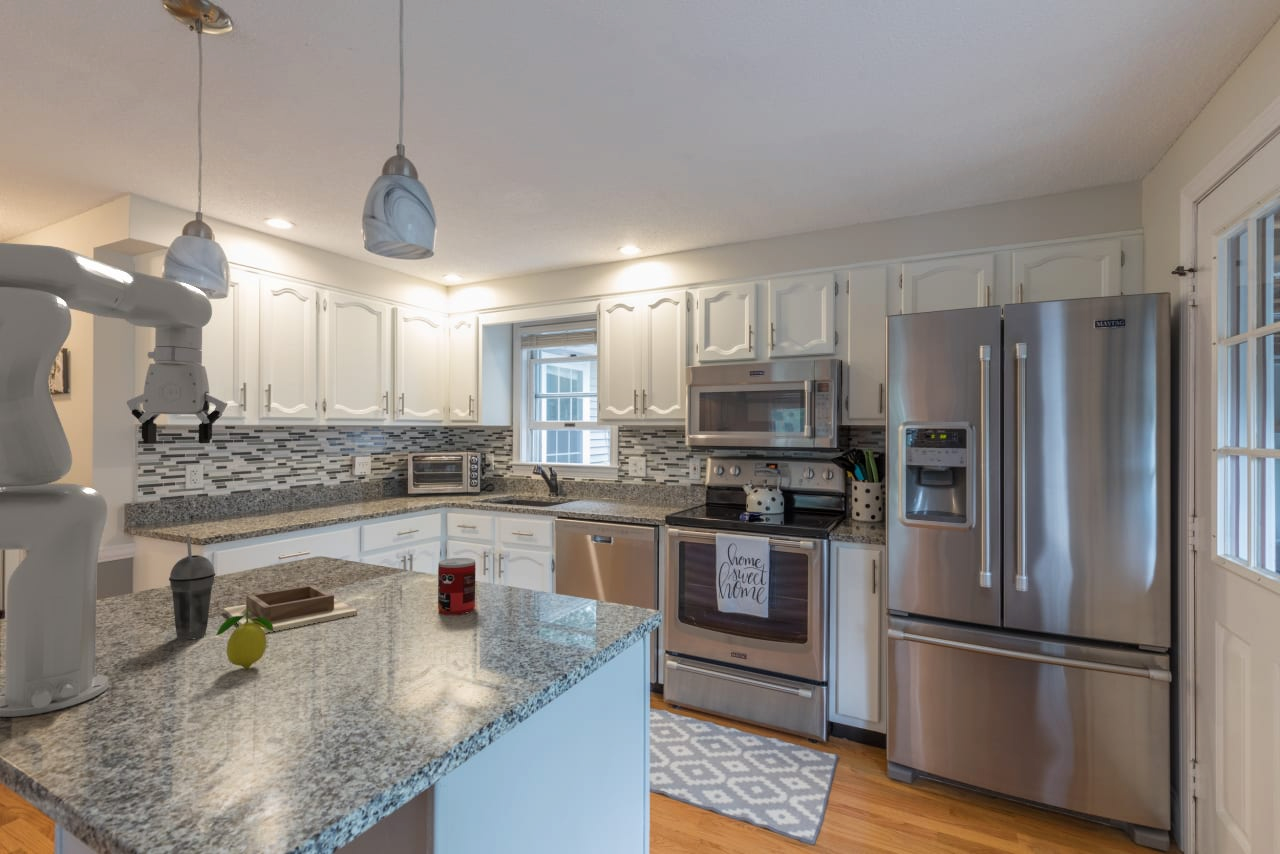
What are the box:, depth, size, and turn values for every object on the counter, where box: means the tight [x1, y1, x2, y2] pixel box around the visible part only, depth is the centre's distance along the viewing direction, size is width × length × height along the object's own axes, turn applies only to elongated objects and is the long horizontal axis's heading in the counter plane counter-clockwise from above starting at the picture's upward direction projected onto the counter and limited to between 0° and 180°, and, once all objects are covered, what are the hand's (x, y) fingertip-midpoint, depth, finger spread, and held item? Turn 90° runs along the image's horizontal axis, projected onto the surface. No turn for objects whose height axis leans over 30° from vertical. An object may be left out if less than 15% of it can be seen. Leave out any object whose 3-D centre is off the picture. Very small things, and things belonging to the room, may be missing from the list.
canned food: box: [437, 557, 476, 615], centre depth 135 cm, size 8×8×11 cm
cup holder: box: [222, 584, 358, 634], centre depth 132 cm, size 22×20×4 cm
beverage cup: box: [168, 533, 216, 641], centre depth 117 cm, size 7×7×20 cm
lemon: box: [215, 608, 274, 670], centre depth 101 cm, size 7×6×10 cm
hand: (177, 443), depth 121 cm, fingers open, 9 cm apart
